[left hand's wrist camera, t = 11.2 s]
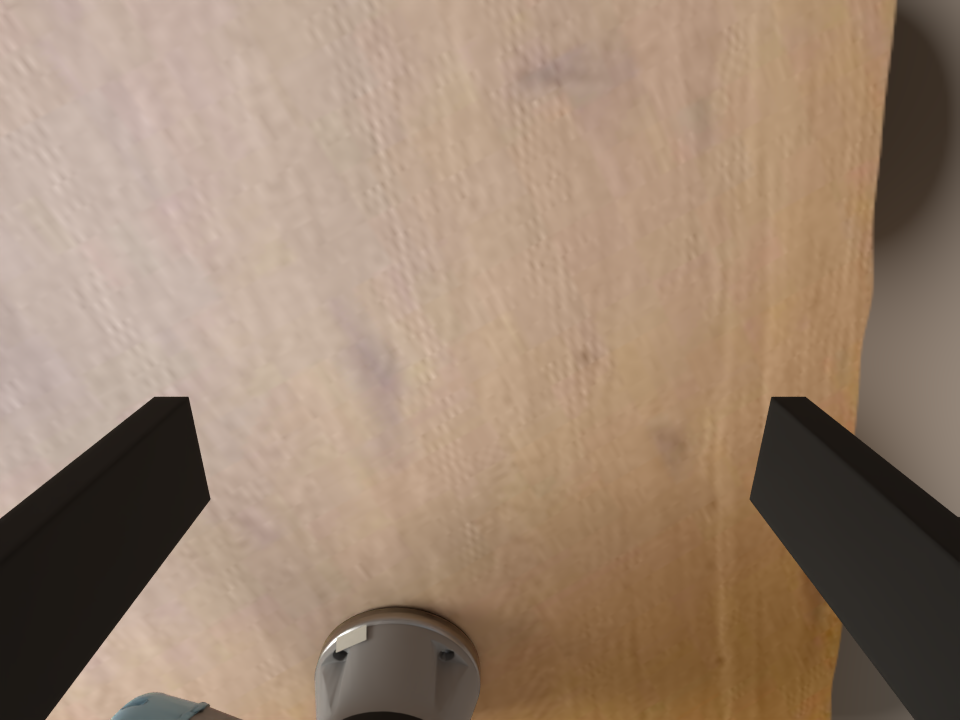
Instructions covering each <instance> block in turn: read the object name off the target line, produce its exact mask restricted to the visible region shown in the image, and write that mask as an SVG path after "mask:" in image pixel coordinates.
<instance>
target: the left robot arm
mask: <svg viewBox="0 0 960 720" xmlns="http://www.w3.org/2000/svg"><path fill="white" fill-rule="evenodd" d="M209 501H210V495H209V490H208V486H207V481H206V476H205V472H204V467H203V462H202V458H201V453H200V448H199V443H198V439H197V434H196V429H195V425H194V420H193V415H192V411H191V406H190V401H189V397H154V398H152V399H151V400H150V401H149V402H147V403H146V404H145V405H144V406H142V407H141V408H140V409H138V410H137V411H136V412H135V413H133V414H132V415H131V416H130V417H128V418H127V419H126V420H125V421H123V422H122V423H121V424H119V425H118V426H117V427H116V428H114V429H113V430H112V431H111V432H109V433H108V434H107V435H106V436H104V437H103V438H102V439H101V440H99V441H98V442H97V443H95V444H94V445H93V446H92V447H90V448H89V449H88V450H87V451H85V452H84V453H83V454H82V455H80V456H79V457H78V458H76V459H75V460H74V461H73V462H71V463H70V464H69V465H68V466H66V467H65V468H64V469H63V470H61V471H60V472H59V473H57V474H56V475H55V476H54V477H52V478H51V479H50V480H49V481H47V482H46V483H45V484H44V485H42V486H41V487H40V488H38V489H37V490H36V491H35V492H33V493H32V494H31V495H30V496H28V497H27V498H26V499H25V500H23V501H22V502H21V503H20V504H18V505H17V506H16V507H14V508H13V509H12V510H11V511H9V512H8V513H7V514H6V515H4V516H3V517H2V518H1V519H0V720H45V719H46V718H47V717H48V715H49V714H50V713H51V711H52V710H53V709H54V707H55V706H56V705H57V703H58V702H59V701H60V699H61V698H62V697H63V695H64V694H65V693H66V691H67V690H68V689H69V687H70V686H71V685H72V683H73V682H74V681H75V679H76V678H77V677H78V675H79V674H80V673H81V671H82V670H83V669H84V667H85V666H86V665H87V663H88V662H89V661H90V659H91V658H92V657H93V655H94V654H95V653H96V651H97V650H98V649H99V647H100V646H101V645H102V643H103V642H104V641H105V639H106V638H107V637H108V635H109V634H110V633H111V631H112V630H113V629H114V627H115V626H116V625H117V623H118V622H119V621H120V619H121V618H122V617H123V615H124V614H125V613H126V611H127V610H128V609H129V607H130V606H131V605H132V603H133V602H134V601H135V599H136V598H137V597H138V595H139V594H140V593H141V591H142V590H143V589H144V587H145V586H146V585H147V583H148V582H149V581H150V579H151V578H152V577H153V575H154V574H155V573H156V571H157V570H158V569H159V567H160V566H161V565H162V563H163V562H164V561H165V559H166V558H167V557H168V555H169V554H170V553H171V551H172V550H173V549H174V547H175V546H176V545H177V543H178V542H179V541H180V539H181V538H182V537H183V535H184V534H185V533H186V531H187V530H188V529H189V527H190V526H191V525H192V523H193V522H194V521H195V519H196V518H197V517H198V515H199V514H200V513H201V511H202V510H203V509H204V507H205V506H206V505H207V503H208V502H209ZM750 501H751V502H752V503H753V505H754V506H755V507H756V509H757V510H758V511H759V513H760V514H761V515H762V517H763V518H764V519H765V521H766V522H767V523H768V525H769V526H770V527H771V529H772V530H773V531H774V533H775V534H776V535H777V537H778V538H779V539H780V541H781V542H782V543H783V545H784V546H785V547H786V549H787V550H788V551H789V553H790V554H791V555H792V557H793V558H794V559H795V561H796V562H797V563H798V565H799V566H800V567H801V569H802V570H803V571H804V573H805V574H806V575H807V577H808V578H809V579H810V581H811V582H812V583H813V585H814V586H815V587H816V589H817V590H818V591H819V593H820V594H821V595H822V597H823V598H824V599H825V601H826V602H827V603H828V605H829V606H830V607H831V609H832V610H833V611H834V613H835V614H836V615H837V617H838V618H839V619H840V621H841V622H842V623H843V625H844V626H845V627H846V629H847V630H848V631H849V633H850V634H851V635H852V637H853V638H854V639H855V641H856V642H857V643H858V645H859V646H860V647H861V649H862V650H863V651H864V653H865V654H866V655H867V657H868V658H869V659H870V661H871V662H872V663H873V665H874V666H875V667H876V669H877V670H878V671H879V673H880V674H881V675H882V677H883V678H884V679H885V681H886V682H887V683H888V685H889V686H890V687H891V689H892V690H893V691H894V693H895V694H896V695H897V697H898V698H899V699H900V701H901V702H902V703H903V705H904V706H905V707H906V709H907V710H908V711H909V713H910V714H911V715H912V717H913V718H914V719H915V720H960V517H957V516H956V515H954V514H953V513H952V512H951V511H949V510H948V509H947V508H946V507H944V506H943V505H942V504H940V503H939V502H938V501H937V500H935V499H934V498H933V497H932V496H930V495H929V494H928V493H927V492H925V491H924V490H923V489H922V488H920V487H919V486H918V485H916V484H915V483H914V482H913V481H911V480H910V479H909V478H908V477H906V476H905V475H904V474H902V473H901V472H900V471H899V470H897V469H896V468H895V467H894V466H892V465H891V464H890V463H889V462H887V461H886V460H885V459H883V458H882V457H881V456H880V455H878V454H877V453H876V452H875V451H873V450H872V449H871V448H870V447H868V446H867V445H866V444H865V443H863V442H862V441H861V440H859V439H858V438H857V437H856V436H854V435H853V434H852V433H851V432H849V431H848V430H847V429H846V428H844V427H843V426H842V425H841V424H839V423H838V422H837V421H835V420H834V419H833V418H832V417H830V416H829V415H828V414H827V413H825V412H824V411H823V410H822V409H820V408H819V407H818V406H816V405H815V404H814V403H813V402H811V401H810V400H809V399H808V398H806V397H771V401H770V406H769V411H768V415H767V420H766V425H765V429H764V434H763V439H762V443H761V448H760V453H759V457H758V462H757V467H756V472H755V476H754V481H753V486H752V490H751V495H750ZM479 692H480V661H479V657H478V654H477V651H476V649H475V647H474V645H473V644H472V642H471V641H470V639H469V638H468V637H467V636H466V635H465V634H464V633H463V632H462V631H461V630H460V629H459V628H458V627H456V626H455V625H453V624H452V623H450V622H449V621H447V620H445V619H443V618H441V617H439V616H437V615H434V614H431V613H428V612H425V611H421V610H416V609H410V608H382V609H376V610H371V611H367V612H364V613H361V614H358V615H356V616H354V617H352V618H350V619H348V620H346V621H345V622H343V623H342V624H340V625H339V626H338V627H337V628H336V629H335V630H334V631H333V632H332V633H331V634H330V635H329V637H328V638H327V640H326V641H325V643H324V645H323V648H322V651H321V654H320V657H319V660H318V663H317V667H316V671H315V698H316V720H471V717H472V714H473V711H474V709H475V706H476V703H477V700H478V697H479ZM111 720H242V719H239V718H236V717H234V716H231V715H228V714H226V713H223V712H221V711H218V710H216V709H213V708H210V705H209V704H207V703H205V702H201V703H199V704H198V703H195V702H191V701H188V700H184V699H181V698H177V697H173V696H170V695H167V694H164V693H158V692H153V693H147V694H144V695H141V696H139V697H137V698H135V699H133V700H132V701H130V702H129V703H127V704H126V705H125V706H124V707H123V708H121V709H120V710H119V711H118V712H117V713H116V714H115V715H114V716H113V717H112V719H111Z"/></svg>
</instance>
